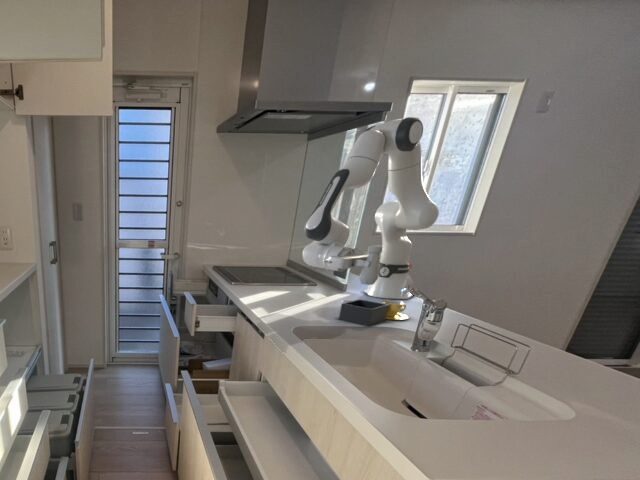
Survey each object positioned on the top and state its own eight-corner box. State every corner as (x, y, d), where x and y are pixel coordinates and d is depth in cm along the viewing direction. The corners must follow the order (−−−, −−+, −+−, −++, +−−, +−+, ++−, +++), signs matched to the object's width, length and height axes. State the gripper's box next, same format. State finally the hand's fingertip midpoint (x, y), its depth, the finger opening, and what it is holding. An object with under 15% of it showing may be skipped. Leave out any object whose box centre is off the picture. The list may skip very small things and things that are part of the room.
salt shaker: (360, 281, 149) (368, 244, 143) (377, 283, 146) (387, 245, 140) (356, 284, 145) (364, 245, 139) (374, 285, 141) (383, 246, 136)
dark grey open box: (356, 314, 156) (359, 299, 153) (385, 320, 148) (389, 304, 145) (338, 319, 150) (341, 303, 148) (368, 325, 142) (371, 309, 140)
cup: (382, 321, 147) (386, 306, 145) (365, 312, 158) (368, 298, 156) (415, 320, 147) (420, 305, 145) (396, 312, 158) (399, 298, 155)
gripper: (321, 251, 148) (355, 256, 136) (360, 248, 155) (395, 252, 144) (318, 269, 150) (351, 275, 139) (357, 265, 158) (391, 270, 147)
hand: (374, 263), depth 141 cm, fingers closed on salt shaker, 3 cm apart
